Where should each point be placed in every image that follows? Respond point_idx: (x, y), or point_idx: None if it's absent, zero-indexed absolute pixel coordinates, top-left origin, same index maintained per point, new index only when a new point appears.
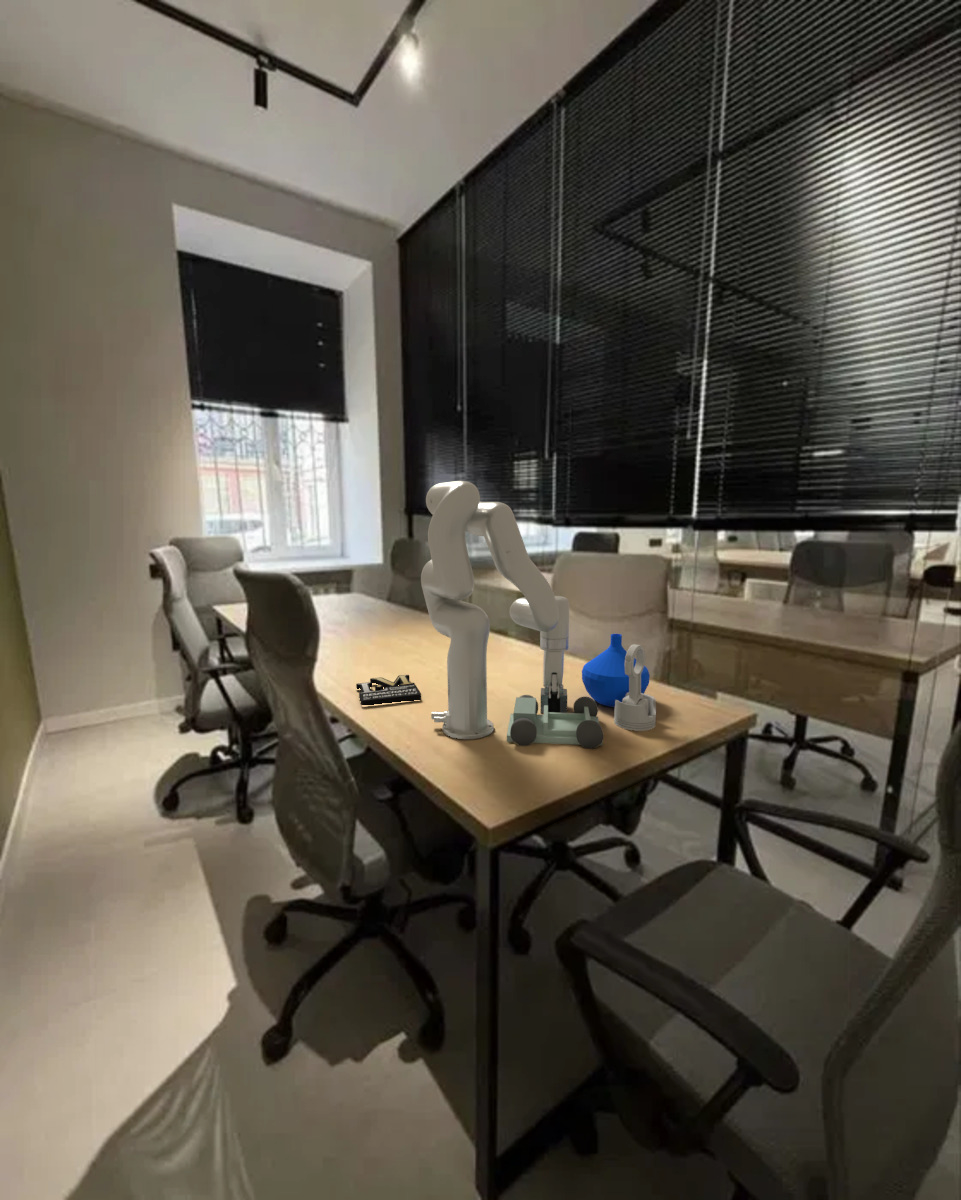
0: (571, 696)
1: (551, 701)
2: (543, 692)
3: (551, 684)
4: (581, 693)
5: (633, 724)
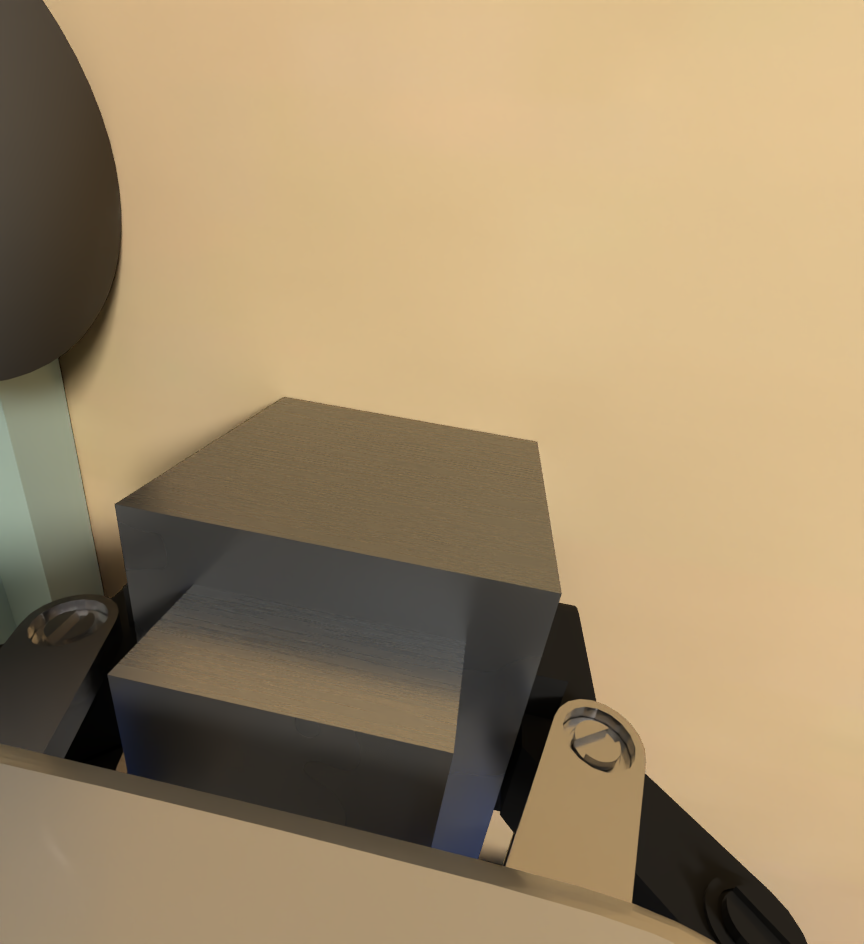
0: (769, 787)
1: (121, 598)
2: (261, 582)
3: None
4: (826, 873)
5: None
